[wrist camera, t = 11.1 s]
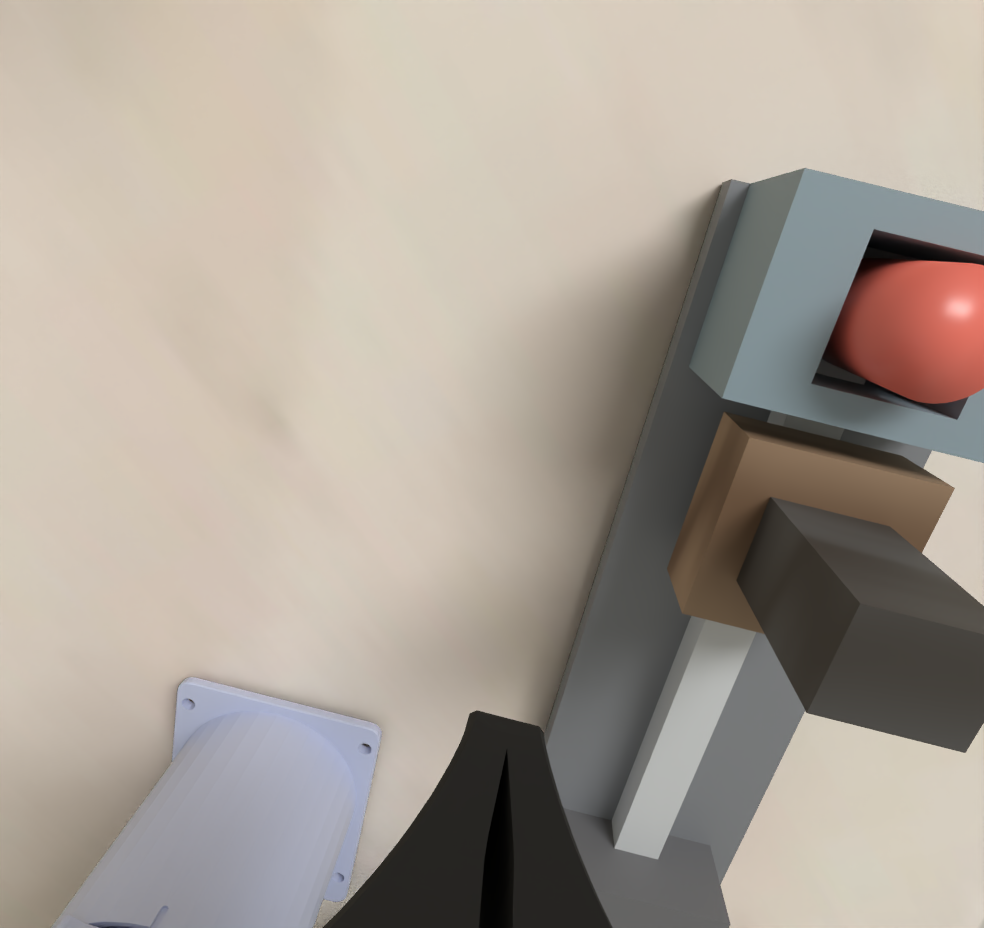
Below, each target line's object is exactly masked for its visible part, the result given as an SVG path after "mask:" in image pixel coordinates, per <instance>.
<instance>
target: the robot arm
mask: <svg viewBox="0 0 984 928" xmlns="http://www.w3.org/2000/svg"><path fill="white" fill-rule="evenodd" d="M189 699H191V700H193V702H194V703H193V702H191V701H189ZM381 737H382V731H381V729H380V727H379V726H377V725H376V724H374V723H372V722H368V721H364V720H360V719H357V718H353V717H349V716H345V715H341V714H337V713H333V712H329V711H325V710H321V709H317V708H313V707H309V706H305V705H301V704H298V703H294V702H290V701H286V700H282V699H278V698H274V697H270V696H266V695H262V694H258V693H254V692H250V691H246V690H242V689H238V688H235V687H231V686H227V685H223V684H219V683H215V682H211V681H207V680H203V679H199V678H195V677H189V678H186V679H185V680H183V681H182V683H181V684H180V685H179V687H178V690H177V702H176V714H175V727H174V740H173V752H172V763H171V764H170V766H169V767H168V768H167V770H166V771H165V773H164V774H163V775H162V777H161V778H160V779H159V781H158V782H157V783H156V785H155V786H154V788H153V789H152V790H151V792H150V793H149V794H148V796H147V797H146V798H145V800H144V801H143V803H142V804H141V805H140V807H139V808H138V809H137V811H136V812H135V813H134V815H133V816H132V818H131V819H130V820H129V822H128V823H127V824H126V826H125V827H124V828H123V830H122V831H121V833H120V834H119V835H118V837H117V838H116V839H115V841H114V842H113V843H112V845H111V846H110V848H109V849H108V850H107V852H106V853H105V854H104V856H103V857H102V858H101V860H100V861H99V863H98V864H97V865H96V867H95V868H94V869H93V871H92V872H91V873H90V875H89V876H88V877H87V879H86V880H85V882H84V883H83V884H82V886H81V887H80V888H79V890H78V891H77V892H76V894H75V895H74V897H73V898H72V899H71V901H70V902H69V903H68V905H67V906H66V907H65V909H64V910H63V912H62V913H61V914H60V916H59V917H58V918H57V920H56V921H55V922H54V924H53V925H52V927H51V928H313V927H314V924H315V921H316V918H317V915H318V913H319V910H320V907H321V904H322V901H323V899H326V900H329V901H333V902H339V901H342V900H344V899H345V898H346V896H347V893H348V890H349V885H350V881H351V876H352V871H353V867H354V862H355V857H356V853H357V848H358V844H359V839H360V834H361V830H362V825H363V820H364V816H365V811H366V807H367V802H368V797H369V793H370V788H371V783H372V779H373V774H374V770H375V765H376V760H377V756H378V751H379V746H380V742H381ZM362 743H363V744H368V745H369V746H370V747H366V746H364V745H363V744H362ZM323 928H613V927H612V925H611V923H610V921H609V919H608V917H607V915H606V913H605V911H604V909H603V906H602V904H601V902H600V900H599V898H598V896H597V893H596V891H595V889H594V887H593V884H592V882H591V880H590V877H589V875H588V872H587V870H586V868H585V865H584V863H583V860H582V858H581V855H580V853H579V850H578V848H577V845H576V842H575V840H574V837H573V834H572V832H571V829H570V826H569V823H568V820H567V817H566V814H565V811H564V808H563V806H562V803H561V799H560V796H559V793H558V790H557V787H556V783H555V780H554V776H553V773H552V769H551V765H550V761H549V757H548V753H547V749H546V744H545V740H544V734H543V732H542V730H541V729H540V727H539V726H535V725H531V724H527V723H523V722H519V721H515V720H511V719H508V718H504V717H500V716H496V715H492V714H488V713H484V712H480V711H475V712H472V713H470V714H469V718H468V721H467V725H466V729H465V732H464V735H463V737H462V740H461V742H460V744H459V746H458V748H457V750H456V752H455V754H454V756H453V758H452V760H451V762H450V764H449V766H448V768H447V769H446V771H445V773H444V775H443V776H442V778H441V780H440V781H439V783H438V785H437V787H436V788H435V790H434V792H433V793H432V795H431V796H430V798H429V799H428V801H427V802H426V804H425V805H424V807H423V808H422V810H421V811H420V813H419V814H418V815H417V817H416V818H415V820H414V821H413V823H412V824H411V826H410V827H409V828H408V830H407V831H406V833H405V834H404V835H403V837H402V838H401V839H400V841H399V842H398V843H397V845H396V846H395V847H394V848H393V850H392V851H391V852H390V853H389V855H388V856H387V857H386V858H385V860H384V861H383V862H382V863H381V865H380V866H379V867H378V868H377V869H376V871H375V872H374V873H373V874H372V875H371V876H370V878H369V879H368V880H367V881H366V882H365V883H364V884H363V885H362V887H361V888H360V889H359V890H358V891H357V892H356V893H355V895H354V896H353V897H352V898H351V899H350V900H349V901H348V902H347V903H346V904H345V906H344V907H343V908H342V909H341V910H340V911H339V912H338V913H337V914H336V915H335V916H334V917H333V918H332V919H331V920H330V921H329V922H328V923H327V924H326V925H325V926H324V927H323Z"/></svg>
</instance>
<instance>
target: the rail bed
mask: <svg viewBox="0 0 984 928" xmlns="http://www.w3.org/2000/svg"><path fill="white" fill-rule="evenodd" d="M862 258H885V259H903V260H922V261H940V262H958V263H973V264H979V265H983V266H984V211H980V210H976V209H972V208H967V207H963V206H959V205H955V204H951V203H947V202H943V201H939V200H934V199H930V198H926V197H922V196H918V195H914V194H910V193H906V192H902V191H897V190H893V189H889V188H885V187H881V186H877V185H873V184H869V183H864V182H860V181H856V180H852V179H848V178H844V177H840V176H836V175H832V174H827V173H823V172H819V171H815V170H811V169H807V168H803V169H800V170H796V171H793V172H790V173H786V174H783V175H779V176H776V177H772V178H769V179H765V180H762V181H758V182H755V183H752V184H749V183H745V182H741V181H737V180H732V179H731V180H729V181H726V182H723V183H722V186H721V189H720V192H719V195H718V199H717V202H716V205H715V208H714V211H713V214H712V217H711V220H710V223H709V226H708V230H707V233H706V236H705V239H704V242H703V245H702V248H701V251H700V254H699V257H698V260H697V264H696V267H695V270H694V273H693V276H692V279H691V282H690V285H689V288H688V291H687V294H686V298H685V301H684V304H683V307H682V310H681V313H680V316H679V319H678V322H677V325H676V329H675V332H674V335H673V338H672V341H671V344H670V347H669V350H668V353H667V356H666V359H665V363H664V366H663V369H662V372H661V375H660V378H659V381H658V384H657V387H656V390H655V393H654V397H653V400H652V403H651V406H650V409H649V412H648V415H647V418H646V421H645V424H644V428H643V431H642V434H641V437H640V440H639V443H638V446H637V449H636V452H635V455H634V458H633V462H632V465H631V468H630V471H629V474H628V477H627V480H626V483H625V486H624V489H623V492H622V496H621V499H620V502H619V505H618V508H617V511H616V514H615V517H614V520H613V523H612V527H611V530H610V533H609V536H608V539H607V542H606V545H605V548H604V551H603V554H602V557H601V561H600V564H599V567H598V570H597V573H596V576H595V579H594V582H593V585H592V588H591V592H590V595H589V598H588V601H587V604H586V607H585V610H584V613H583V616H582V619H581V622H580V626H579V629H578V632H577V635H576V638H575V641H574V644H573V647H572V650H571V653H570V656H569V660H568V663H567V666H566V669H565V672H564V675H563V678H562V681H561V684H560V687H559V691H558V694H557V697H556V700H555V703H554V706H553V709H552V712H551V715H550V718H549V721H548V725H547V728H546V731H545V734H544V740H545V744H546V749H547V753H548V757H549V761H550V765H551V769H552V773H553V776H554V780H555V783H556V787H557V790H558V793H559V796H560V799H561V803H562V806H563V808H564V811H565V814H566V817H567V820H568V823H569V826H570V829H571V832H572V834H573V837H574V840H575V842H576V845H577V848H578V850H579V853H580V855H581V858H582V860H583V863H584V865H585V868H586V870H587V872H588V875H589V877H590V880H591V882H592V884H593V887H594V889H595V891H596V893H597V896H598V898H599V900H600V902H601V904H602V906H603V909H604V911H605V913H606V915H607V917H608V919H609V921H610V923H611V925H612V927H613V928H729V926H730V921H729V917H728V913H727V909H726V906H725V902H724V898H723V894H722V890H721V886H720V884H721V882H722V880H723V878H724V876H725V874H726V872H727V870H728V868H729V866H730V864H731V862H732V859H733V857H734V855H735V853H736V851H737V849H738V847H739V845H740V843H741V841H742V839H743V837H744V835H745V833H746V831H747V829H748V827H749V825H750V823H751V820H752V818H753V816H754V814H755V812H756V810H757V808H758V806H759V804H760V802H761V800H762V798H763V796H764V794H765V792H766V790H767V788H768V786H769V784H770V782H771V779H772V777H773V775H774V773H775V771H776V769H777V767H778V765H779V763H780V761H781V759H782V757H783V755H784V753H785V751H786V749H787V747H788V745H789V743H790V740H791V738H792V736H793V734H794V732H795V730H796V728H797V726H798V724H799V722H800V720H801V718H802V716H803V714H804V712H805V709H804V707H803V705H802V703H801V701H800V699H799V697H798V695H797V694H796V692H795V690H794V688H793V686H792V684H791V682H790V680H789V679H788V677H787V675H786V673H785V671H784V669H783V667H782V665H781V664H780V662H779V660H778V658H777V656H776V654H775V652H774V650H773V649H772V647H771V645H770V643H769V641H768V639H767V637H766V635H765V634H762V633H758V632H754V631H750V630H746V629H742V628H738V627H734V626H730V625H726V624H722V623H718V622H714V621H710V620H706V619H702V618H698V617H694V616H690V615H686V614H682V612H681V609H680V606H679V603H678V600H677V597H676V594H675V591H674V588H673V585H672V582H671V579H670V576H669V573H668V570H667V567H668V564H669V561H670V559H671V556H672V553H673V550H674V548H675V545H676V542H677V539H678V537H679V534H680V531H681V528H682V526H683V523H684V520H685V518H686V515H687V512H688V509H689V507H690V504H691V501H692V498H693V496H694V493H695V490H696V487H697V485H698V482H699V479H700V476H701V474H702V471H703V468H704V465H705V463H706V460H707V457H708V454H709V452H710V449H711V446H712V443H713V441H714V438H715V435H716V432H717V430H718V427H719V424H720V421H721V419H722V416H723V413H724V412H728V413H732V414H736V415H740V416H744V417H748V418H752V419H756V420H760V421H764V422H768V423H772V424H776V425H780V426H784V427H788V428H792V429H796V430H800V431H804V432H808V433H812V434H817V435H821V436H825V437H829V438H833V439H837V440H841V441H845V442H849V443H853V444H857V445H861V446H865V447H869V448H873V449H877V450H881V451H885V452H889V453H893V454H897V455H901V456H903V457H905V458H907V459H908V460H910V461H911V462H913V463H915V464H916V465H918V466H920V467H921V468H924V466H925V463H926V461H927V459H928V457H929V455H930V453H931V451H932V450H933V451H938V452H942V453H946V454H950V455H954V456H958V457H962V458H966V459H970V460H974V461H978V462H982V463H984V389H982V390H980V391H979V392H977V393H975V394H973V395H971V396H968V397H966V398H964V399H960V400H957V401H953V402H948V403H938V404H932V403H922V402H917V401H914V400H911V399H908V398H906V397H904V396H901V395H899V394H897V393H895V392H893V391H890V390H888V389H886V388H884V387H881V386H879V385H877V384H875V383H872V382H870V381H868V380H866V379H864V378H861V377H859V376H857V375H855V374H852V373H850V372H848V371H846V370H843V369H841V368H839V367H837V366H834V365H832V364H830V363H828V362H826V361H825V360H823V359H822V356H823V353H824V351H825V348H826V346H827V344H828V341H829V339H830V336H831V334H832V331H833V329H834V326H835V324H836V321H837V319H838V316H839V314H840V311H841V309H842V307H843V304H844V302H845V299H846V297H847V294H848V292H849V289H850V287H851V284H852V282H853V279H854V277H855V274H856V272H857V270H858V267H859V265H860V262H861V260H862Z"/></svg>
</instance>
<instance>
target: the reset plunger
mask: <svg viewBox="0 0 984 928" xmlns="http://www.w3.org/2000/svg"><path fill="white" fill-rule="evenodd" d="M822 359H823V360H825V361H826V362H828V363H830V364H832V365H834V366H837V367H839V368H841V369H843V370H846V371H848V372H850V373H852V374H855V375H857V376H859V377H861V378H864V379H866V380H868V381H870V382H872V383H875V384H877V385H879V386H881V387H884V388H886V389H888V390H890V391H893V392H895V393H897V394H899V395H901V396H904V397H906V398H908V399H911V400H914V401H917V402H922V403H932V404H938V403H948V402H953V401H957V400H960V399H964V398H966V397H968V396H971V395H973V394H975V393H977V392H979V391H980V390H982V389H984V266H983V265H979V264H973V263H958V262H940V261H922V260H903V259H885V258H862V260H861V262H860V265H859V267H858V270H857V272H856V274H855V277H854V279H853V282H852V284H851V287H850V289H849V292H848V294H847V297H846V299H845V302H844V304H843V307H842V309H841V311H840V314H839V316H838V319H837V321H836V324H835V326H834V329H833V331H832V334H831V336H830V339H829V341H828V344H827V346H826V348H825V351H824V353H823V356H822Z"/></svg>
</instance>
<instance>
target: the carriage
mask: <svg viewBox="0 0 984 928" xmlns="http://www.w3.org/2000/svg"><path fill="white" fill-rule="evenodd" d="M954 489H955V488H953V487H952V486H950V485H949V484H947V483H945V482H944V481H942V480H941V479H939V478H937V477H936V476H934V475H932V474H931V473H929V472H928V471H926V470H924V469H923V468H921V467H920V466H918V465H916V464H915V463H913V462H911V461H910V460H908V459H907V458H905V457H903V456H901V455H897V454H893V453H889V452H885V451H881V450H877V449H873V448H869V447H865V446H861V445H857V444H853V443H849V442H845V441H841V440H837V439H833V438H829V437H825V436H821V435H817V434H812V433H808V432H804V431H800V430H796V429H792V428H788V427H784V426H780V425H776V424H772V423H768V422H764V421H760V420H756V419H752V418H748V417H744V416H740V415H736V414H732V413H728V412H724V413H723V416H722V419H721V421H720V424H719V427H718V430H717V432H716V435H715V438H714V441H713V443H712V446H711V449H710V452H709V454H708V457H707V460H706V463H705V465H704V468H703V471H702V474H701V476H700V479H699V482H698V485H697V487H696V490H695V493H694V496H693V498H692V501H691V504H690V507H689V509H688V512H687V515H686V518H685V520H684V523H683V526H682V528H681V531H680V534H679V537H678V539H677V542H676V545H675V548H674V550H673V553H672V556H671V559H670V561H669V564H668V567H667V570H668V573H669V576H670V579H671V582H672V585H673V588H674V591H675V594H676V597H677V600H678V603H679V606H680V609H681V612H682V614H686V615H690V616H694V617H698V618H702V619H706V620H710V621H714V622H718V623H722V624H726V625H730V626H734V627H738V628H742V629H746V630H750V631H754V632H758V633H762V634H765V635H766V637H767V639H768V641H769V643H770V645H771V647H772V649H773V650H774V652H775V654H776V656H777V658H778V660H779V662H780V664H781V665H782V667H783V669H784V671H785V673H786V675H787V677H788V679H789V680H790V682H791V684H792V686H793V688H794V690H795V692H796V694H797V695H798V697H799V699H800V701H801V703H802V705H803V707H804V709H805V710H806V712H807V713H809V714H813V715H817V716H821V717H825V718H829V719H833V720H837V721H841V722H845V723H849V724H853V725H857V726H861V727H865V728H869V729H873V730H877V731H881V732H884V733H888V734H892V735H896V736H900V737H904V738H908V739H912V740H916V741H920V742H924V743H928V744H932V745H936V746H940V747H944V748H948V749H952V750H956V751H960V752H964V753H966V751H967V749H968V748H969V746H970V744H971V743H972V741H973V739H974V738H975V736H976V734H977V733H978V731H979V729H980V728H981V726H982V725H983V723H984V606H983V605H982V604H980V603H979V602H978V601H977V600H976V599H975V598H973V597H972V596H971V595H970V594H969V593H968V592H966V591H965V590H964V589H963V588H962V587H961V586H959V585H958V584H957V583H956V582H955V581H954V580H952V579H951V578H950V577H949V576H948V575H946V574H945V573H944V572H943V571H942V570H941V569H939V568H938V567H937V566H936V565H935V564H934V563H932V562H931V561H930V560H929V559H928V558H927V557H925V556H924V555H923V554H922V551H923V549H924V547H925V545H926V543H927V542H928V540H929V538H930V536H931V534H932V532H933V530H934V528H935V526H936V524H937V522H938V520H939V518H940V516H941V514H942V512H943V510H944V508H945V506H946V504H947V502H948V500H949V498H950V497H951V495H952V493H953V491H954Z"/></svg>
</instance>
